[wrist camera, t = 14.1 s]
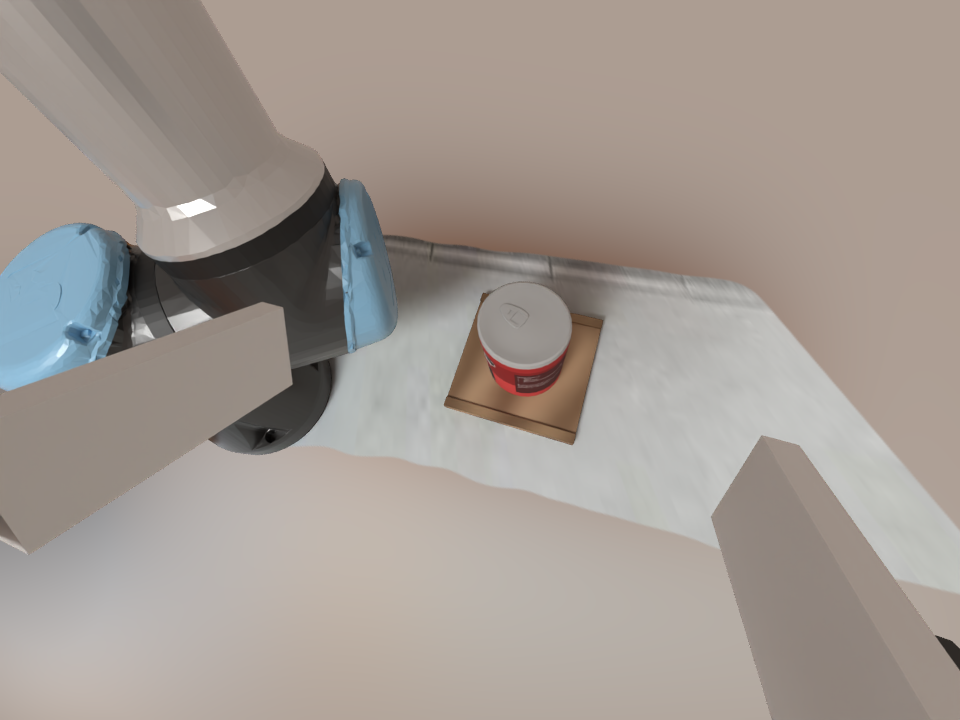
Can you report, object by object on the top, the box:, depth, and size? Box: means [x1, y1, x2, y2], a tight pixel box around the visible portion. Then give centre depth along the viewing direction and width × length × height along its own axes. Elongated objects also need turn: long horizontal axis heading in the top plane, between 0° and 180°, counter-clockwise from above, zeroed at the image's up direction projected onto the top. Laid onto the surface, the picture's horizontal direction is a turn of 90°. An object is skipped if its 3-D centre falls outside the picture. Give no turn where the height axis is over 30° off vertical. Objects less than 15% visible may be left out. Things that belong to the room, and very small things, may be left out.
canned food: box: [477, 282, 572, 397], centre depth 36 cm, size 8×8×11 cm
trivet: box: [444, 293, 603, 445], centre depth 41 cm, size 14×14×1 cm
